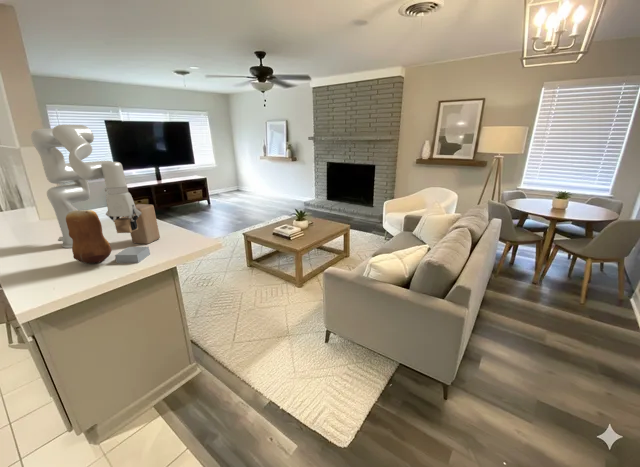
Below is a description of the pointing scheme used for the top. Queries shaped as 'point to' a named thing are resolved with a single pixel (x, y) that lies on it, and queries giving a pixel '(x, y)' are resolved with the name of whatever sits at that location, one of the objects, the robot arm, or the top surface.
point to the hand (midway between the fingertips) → (127, 229)
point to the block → (145, 225)
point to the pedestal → (132, 254)
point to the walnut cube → (123, 225)
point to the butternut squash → (87, 236)
